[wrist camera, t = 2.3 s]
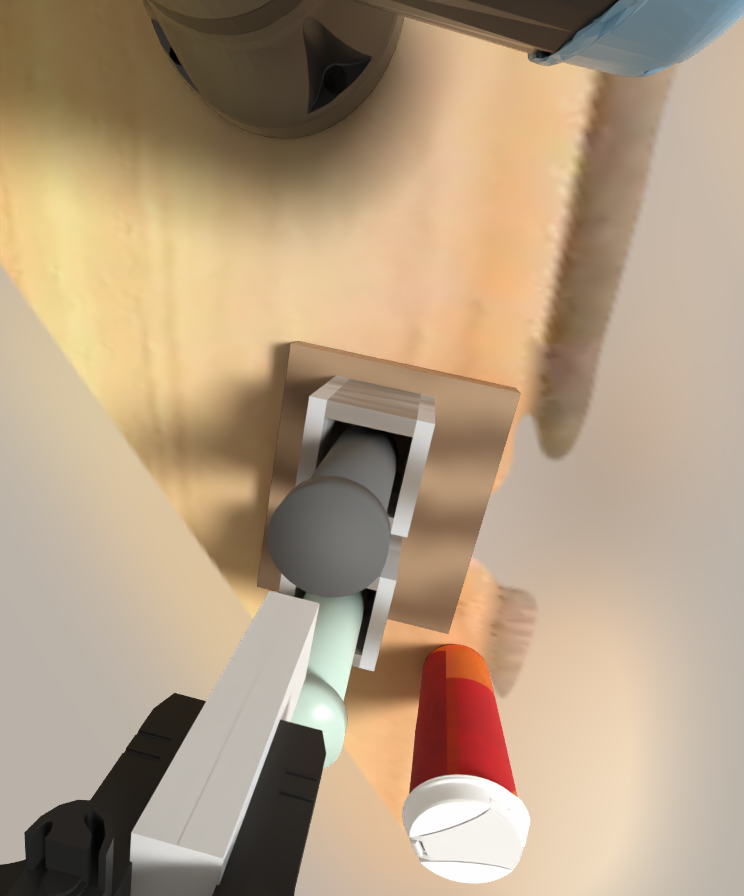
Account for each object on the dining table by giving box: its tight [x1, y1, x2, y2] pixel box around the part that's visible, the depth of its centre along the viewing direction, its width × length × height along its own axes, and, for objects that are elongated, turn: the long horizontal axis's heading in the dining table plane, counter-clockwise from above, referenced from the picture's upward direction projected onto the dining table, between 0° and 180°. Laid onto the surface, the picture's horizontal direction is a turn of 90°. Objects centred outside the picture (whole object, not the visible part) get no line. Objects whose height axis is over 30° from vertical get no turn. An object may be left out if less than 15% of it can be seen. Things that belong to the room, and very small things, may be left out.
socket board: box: [257, 341, 521, 672], centre depth 33 cm, size 20×16×10 cm
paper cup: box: [402, 644, 530, 883], centre depth 35 cm, size 8×8×14 cm
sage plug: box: [290, 588, 367, 769], centre depth 27 cm, size 5×5×11 cm
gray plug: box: [267, 425, 398, 597], centre depth 24 cm, size 5×5×11 cm
